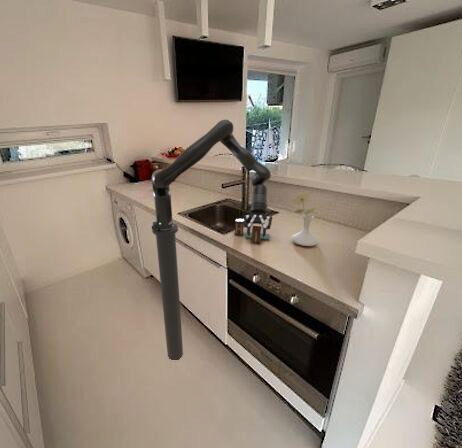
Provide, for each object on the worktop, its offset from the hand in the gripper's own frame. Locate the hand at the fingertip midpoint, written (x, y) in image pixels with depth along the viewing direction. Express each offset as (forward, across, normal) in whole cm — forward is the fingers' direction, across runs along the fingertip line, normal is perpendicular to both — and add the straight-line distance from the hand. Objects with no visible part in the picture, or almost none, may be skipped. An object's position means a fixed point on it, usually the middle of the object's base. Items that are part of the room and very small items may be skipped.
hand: (256, 235), depth 117 cm
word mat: (-3, 0, +9) cm, 9 cm away
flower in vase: (-1, +21, +7) cm, 23 cm away
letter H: (-4, -9, +10) cm, 14 cm away
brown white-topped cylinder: (+2, 0, +4) cm, 5 cm away
